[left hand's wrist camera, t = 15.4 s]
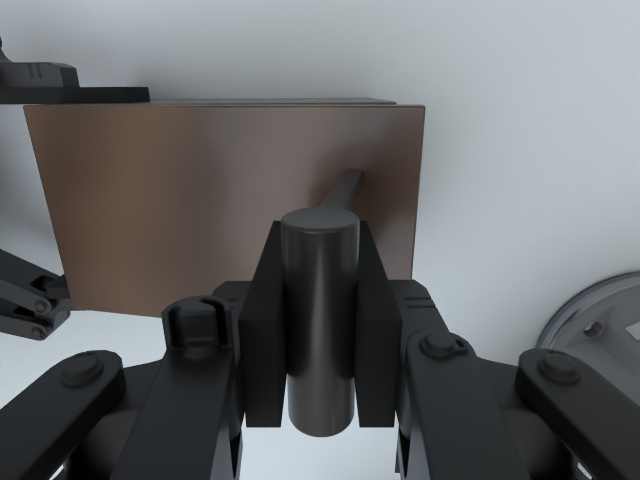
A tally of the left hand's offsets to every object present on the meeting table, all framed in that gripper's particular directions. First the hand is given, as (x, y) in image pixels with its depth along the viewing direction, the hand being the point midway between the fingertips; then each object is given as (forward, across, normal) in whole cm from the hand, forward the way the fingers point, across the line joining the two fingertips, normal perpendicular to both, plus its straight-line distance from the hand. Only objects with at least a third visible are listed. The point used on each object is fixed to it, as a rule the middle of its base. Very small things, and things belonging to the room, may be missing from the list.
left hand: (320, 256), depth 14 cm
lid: (+4, -4, 0) cm, 6 cm away
